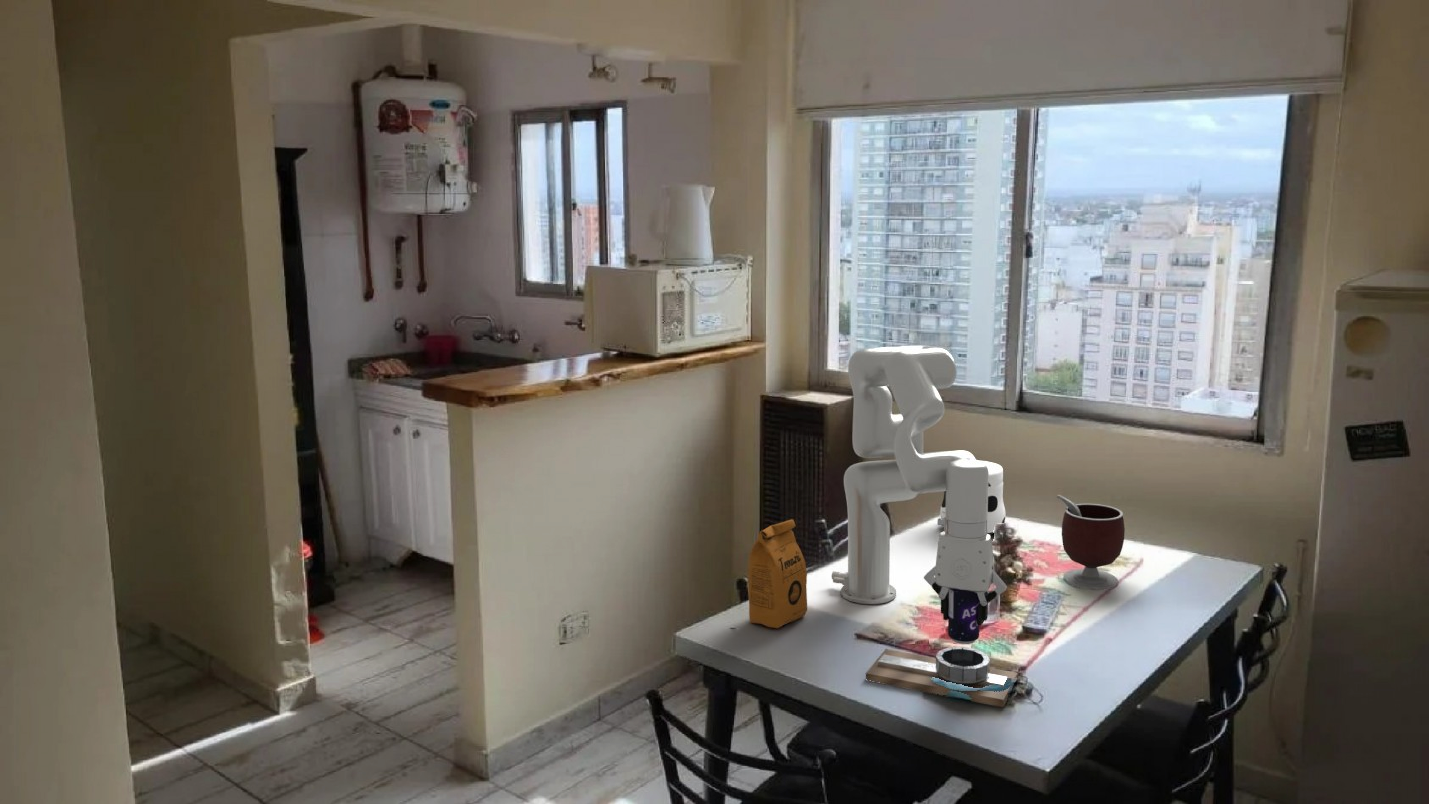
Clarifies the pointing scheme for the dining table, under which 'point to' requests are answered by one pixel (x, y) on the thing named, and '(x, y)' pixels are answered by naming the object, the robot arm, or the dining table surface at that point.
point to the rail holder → (951, 666)
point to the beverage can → (963, 616)
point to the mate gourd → (1092, 543)
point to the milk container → (990, 497)
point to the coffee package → (777, 577)
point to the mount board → (927, 685)
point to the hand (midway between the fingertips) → (963, 619)
